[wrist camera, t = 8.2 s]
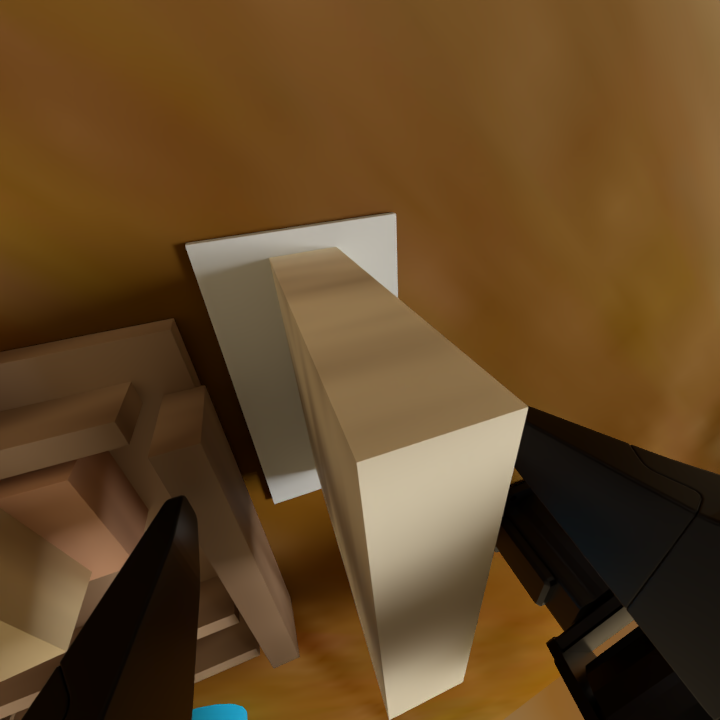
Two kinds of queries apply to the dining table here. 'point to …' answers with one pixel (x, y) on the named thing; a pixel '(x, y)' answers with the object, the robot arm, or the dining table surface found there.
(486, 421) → the block
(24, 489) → the offcut low
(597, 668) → the robot arm
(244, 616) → the rack
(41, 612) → the offcut top
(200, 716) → the mug
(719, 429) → the dining table surface
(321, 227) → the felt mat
